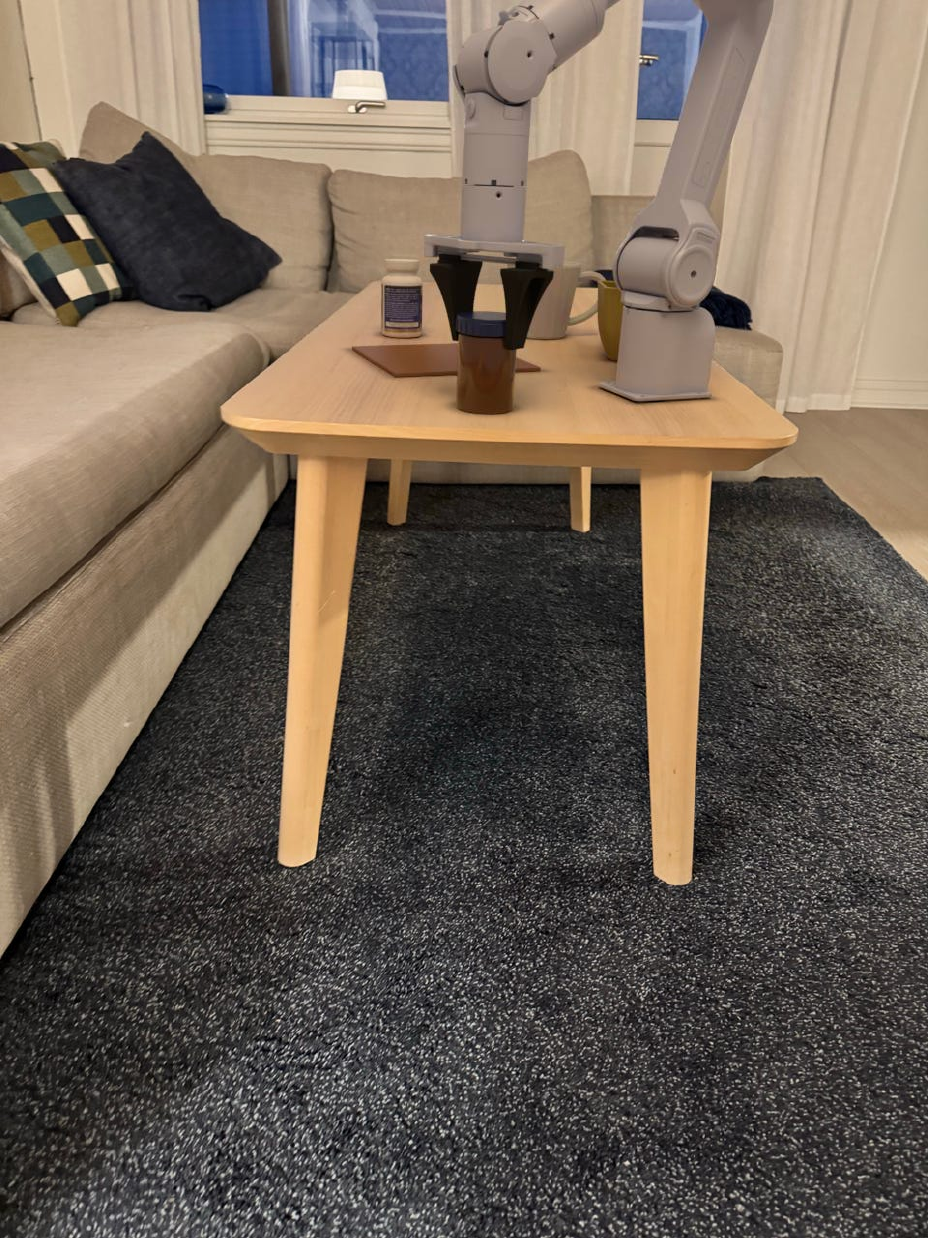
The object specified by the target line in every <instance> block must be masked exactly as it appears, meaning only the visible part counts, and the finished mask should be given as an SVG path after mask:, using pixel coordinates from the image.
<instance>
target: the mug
mask: <svg viewBox="0 0 928 1238" xmlns="http://www.w3.org/2000/svg"><path fill="white" fill-rule="evenodd" d="M506 266H507V267H506V268H515V265H511V264H506ZM581 269H582V264H581V263H580V262H576V261H571V260H564V263H563V268H562V269H548V270H551V271H554V276H553V280H552V281H551V283H550V284H549V286H548V287H547V289H546V291H545V293H544V294H543V296H542V298H541V300H540V302H539V304H538V306H537V309H536V311H535V313H534V316H533V319H532V322H531V325H530V328H529V331H528V334H527V338H526V339H530V340H558V339H562V338H565V337H566V335H567V330H568V327H572V326H576V325H579V324H581V323H583V322H586V321H587V320H589V319H590V318H592V317H593V316H595V315H596V314H598V299H597V300H596V302H595V303H593V305H592V306H590V308H589V309H587V310H586V311H584V312H582V313H581V314H580V313H579V314H578V315H576V316H573V317H571V314H572V313H571V312H572V309H573V304H574V300H575V296H576V291H577V287H578V283H580V282H583V281H588V280H589V281H590V280H591V281H594V282H596V283H598V281H607V280H606V278H605V277H604V275H602V274H601V273H600V272H596V271H592V270H586V271H582V272H581Z"/></svg>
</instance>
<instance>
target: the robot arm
mask: <svg viewBox="0 0 928 1238" xmlns="http://www.w3.org/2000/svg"><path fill="white" fill-rule="evenodd" d="M620 1H621V0H523V1H521V2H520V3H518V4H517V5H516V6H515V5H514V4H509V5H506V6H504V7H503V8H502V9H501V10H499V12H498V17H499V20H498V22H497V24H496V26H493V27H488V28H484V29H481V30H477V31H475V32H473V33H472V34H470V35H469V36H468V37H467V38H466V39H465V40H464V42H463V43H462V45H461V48H462V50H460V51H459V53H458V56H457V63H455V64H453V65H452V66H451V68H452V69H451V71H452V78H453V82H454V85H455V88H456V90H457V92H458V94H459V95H460V98H461V100H462V103H463V145H462V176H461V177H462V179H461V180H462V181H461V183H462V185H461V211H460V235H447V234H424V238H423V239H424V240H423V256H424V258H438V259H437V261H436V262H433V263H430V264H429V272H430V274H431V276H432V278H433V280H434V282H435V285H436V286H437V288H438V290H439V293H440V296H441V300H442V301H443V305H444V309H445V311H446V315H447V316H446V317H447V320H448V325H449V330H450V334H451V340H452V341H453V342H458V333H459V332H458V331H457V329H456V319H457V314H458V313H461V312H470V311H474V307H475V304H474V303H475V297H476V291H477V286H478V283H479V278H480V274H481V271H482V268H483V263H492V264H493V263H494V264H501V265H507V264H511V265H515V268H508V267H505V268H504V267H503V268H500V269H499V276H500V280H501V283H502V290H503V296H504V307H505V313H506V319H505V346H506V349H507V350H517V351H518V350H521V349H525V344H526V341H527V339H528V338H527V334H528V331H529V328H530V325H531V322H532V319H533V316H534V313H535V311H536V309H537V306H538V304H539V302H540V300H541V298H542V296H543V294H544V293H545V291H546V289H547V287H548V286H549V284H550V283H551V281H552V280H553V276H554V271H551V270H548V269H562V268H563V263H564V261H565V250H566V245H565V244H557V243H556V244H555V243H547V242H539V241H531V240H524V237H525V236H524V234H525V218H526V203H527V201H526V200H527V199H526V198H527V184H528V183H527V180H528V165H529V147H530V145H529V144H530V134H531V133H530V132H531V131H530V130H531V116H532V115H531V112H532V99H533V98H537V97H538V96H539V95H540V94H541V92H543V89H544V88H545V85H546V82H547V79H548V76H549V75H550V74H551V73H553V72H554V71H555V70H557V69H558V68H559V67H560V66H562V65H563V64H565V63H566V62H567V61H568V60H570V59H571V58H572V57H573V56H574V55H576V54H577V53H578V52H580V51H581V50H582V49H584V48H585V47H586V46H588V45H589V44H590V43H591V42H592V41H593V40H595V39H597V38H598V37H599V36H600V34H602V31H603V29H604V26H605V18H606V12H607V10H609V9H610V8H611V7H613V6H614V5H616V4H617V3H618V2H620ZM692 2H693V3H694V5H695V6H696V7H697V9H698V10H699V11H701V12H702V14H703V15H704V18H705V20H706V24H707V25H706V29H705V33H704V36H703V39H702V43H701V46H700V49H699V53H698V57H697V59H696V63H695V65H694V69H693V71H692V72H693V73H692V76H691V79H690V82H689V86H688V89H687V92H686V94H685V95H686V96H685V98H684V103H683V105H682V108H681V111H680V115H679V117H678V118H679V119H678V122H677V124H676V129H675V131H674V135H673V138H672V142H671V144H670V148H669V152H668V154H667V158H666V161H665V164H664V167H663V170H662V174H661V178H660V180H659V184H658V188H657V191H656V193H655V197H654V198H653V200H652V201H651V202H650V203H649V204H648V205H647V206H645V208H643V209H642V210H641V211H640V212H639V213H638V214H637V215H636V216H634V218H633V220H632V224H631V227H630V230H629V232H628V234H627V236H626V238H625V239H624V240H623V242H621V244H620V245H619V247H618V248H617V250H616V252H615V255H614V258H613V263H612V277H613V281H614V282H615V284H616V286H617V288H618V289H619V291H620V292H621V293H622V294H621V302H623V303H624V304H625V305H624V306H623V315H622V325H621V334H620V344H619V353H618V360H617V363H616V364H617V365H616V372H615V381H599V384H598V387H600V388H602V389H605V390H607V391H609V392H611V393H614V394H617V395H619V396H622V397H624V398H626V399H629V400H631V401H634V402H653V401H654V402H655V401H670V400H671V401H673V400H686V399H689V400H690V399H705V398H711V397H712V394H713V393H712V392H710V391H708V390H709V383H710V378H711V370H712V363H713V356H714V350H715V344H716V324H715V320H714V317H713V315H712V314H711V312H710V311H709V310H707V309H706V308H705V307H701V306H700V303H701V302H703V300H705V298H706V297H707V296H708V295H709V293H710V291H711V290H712V288H713V286H714V283H715V279H716V275H717V253H718V248H719V245H720V241H721V238H722V234H721V232H720V230H719V228H718V227H717V225H716V223H715V222H714V220H713V219H712V217H711V215H710V209H711V207H712V204H713V200H714V197H715V194H716V191H717V187H718V184H719V181H720V178H721V175H722V172H723V168H724V166H725V163H726V160H727V157H728V154H729V151H730V148H731V144H732V141H733V138H734V135H735V132H736V129H737V126H738V124H739V123H738V122H739V119H740V116H741V113H742V111H743V107H744V104H745V101H746V98H747V95H748V92H749V88H750V85H751V82H752V80H753V76H754V74H755V71H756V70H755V69H756V67H757V64H758V61H759V58H760V55H761V52H762V48H763V45H764V43H765V39H766V36H767V33H768V30H769V27H770V24H771V20H772V16H773V13H774V4H775V0H692ZM479 252H486V253H487V252H490V253H503V256H494V255H486V254H485V255H483V254H475V253H479ZM473 253H474V254H473Z"/></svg>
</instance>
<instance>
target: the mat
mask: <svg viewBox="0 0 928 1238" xmlns="http://www.w3.org/2000/svg"><path fill="white" fill-rule="evenodd" d="M351 350H352V351H353V352H355V353H357V354H358V355H360V356H361V357H363V358H364V359H366V360H368V361H370V362H371V363H372V364H374V365H376V366H377V367H379V368H380V369H382V370H383V371H385V372H387V373H388V374H390V375H391V376H393V377H395V378H407V377H430V376H432V377H433V376H452V375H455V376H457V364H458V342H457V343H456V342H454V343H453V342H452V343H424V344H423V343H422V344H421V343H420V344H389V345H386V344H385V345H354V346H353V345H352V346H351ZM541 369H542V367H540V366H537V365H536V364H533V363H530V362H528V361H526V360H524V359H521V358H518V357H517V356H516V369H515V373H523V372H540V371H541Z"/></svg>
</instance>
